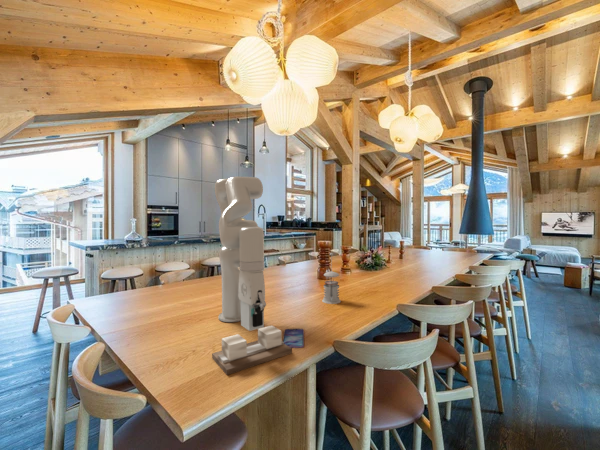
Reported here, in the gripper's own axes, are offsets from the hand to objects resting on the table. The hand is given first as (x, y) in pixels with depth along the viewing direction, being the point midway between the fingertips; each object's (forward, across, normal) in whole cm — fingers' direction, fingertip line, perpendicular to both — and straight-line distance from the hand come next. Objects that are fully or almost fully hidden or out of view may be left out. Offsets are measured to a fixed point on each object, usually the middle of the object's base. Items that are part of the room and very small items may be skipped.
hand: (252, 322), depth 93 cm
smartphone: (+11, -3, +18) cm, 22 cm away
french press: (+11, -28, +59) cm, 66 cm away
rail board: (+11, 0, 0) cm, 11 cm away
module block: (+1, 0, 0) cm, 1 cm away
